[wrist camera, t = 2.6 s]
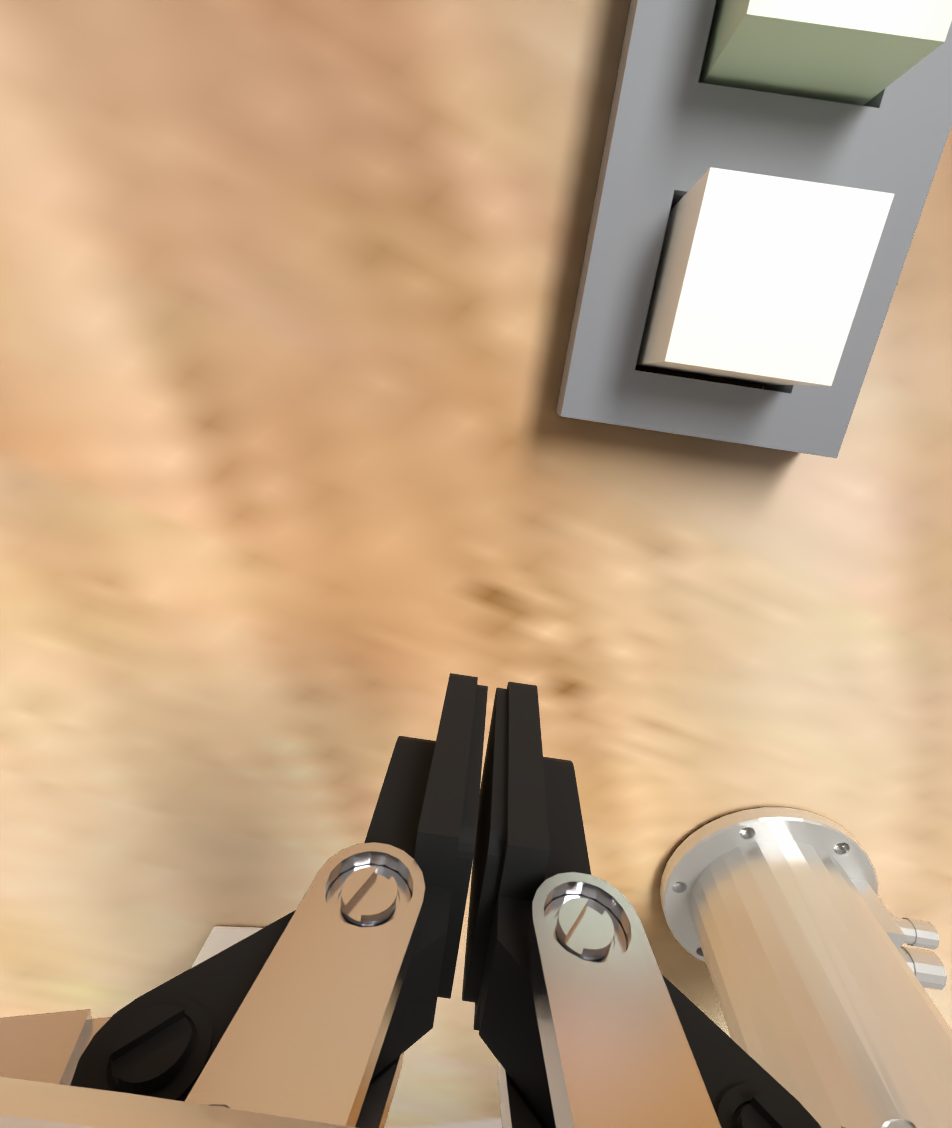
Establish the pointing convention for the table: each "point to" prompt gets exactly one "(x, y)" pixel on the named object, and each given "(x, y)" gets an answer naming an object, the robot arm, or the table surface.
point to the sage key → (821, 45)
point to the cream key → (761, 278)
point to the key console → (747, 144)
